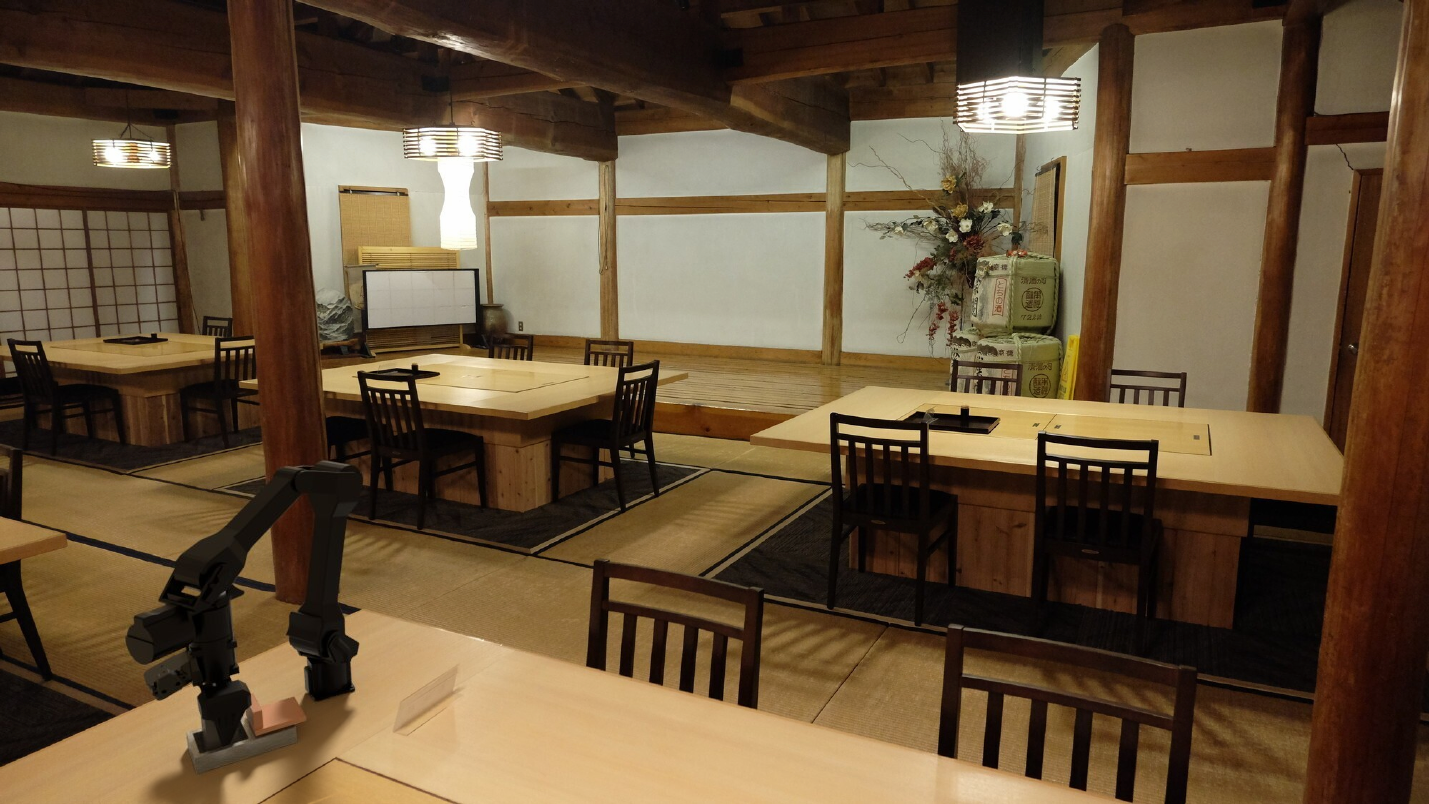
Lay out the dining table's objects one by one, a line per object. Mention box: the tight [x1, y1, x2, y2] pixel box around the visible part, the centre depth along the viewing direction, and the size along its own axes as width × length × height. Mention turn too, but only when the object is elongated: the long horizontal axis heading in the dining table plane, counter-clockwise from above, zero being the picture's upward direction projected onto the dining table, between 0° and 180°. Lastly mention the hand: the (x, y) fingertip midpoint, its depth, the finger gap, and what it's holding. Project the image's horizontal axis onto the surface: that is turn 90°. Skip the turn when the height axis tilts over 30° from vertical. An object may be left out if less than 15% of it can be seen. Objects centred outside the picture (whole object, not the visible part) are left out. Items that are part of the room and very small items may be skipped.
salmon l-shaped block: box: [245, 692, 307, 736], centre depth 133 cm, size 7×7×4 cm
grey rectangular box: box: [185, 714, 298, 775], centre depth 131 cm, size 13×8×2 cm, turn 129°
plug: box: [200, 717, 238, 752], centre depth 128 cm, size 4×4×8 cm
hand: (220, 730), depth 129 cm, fingers open, 9 cm apart
